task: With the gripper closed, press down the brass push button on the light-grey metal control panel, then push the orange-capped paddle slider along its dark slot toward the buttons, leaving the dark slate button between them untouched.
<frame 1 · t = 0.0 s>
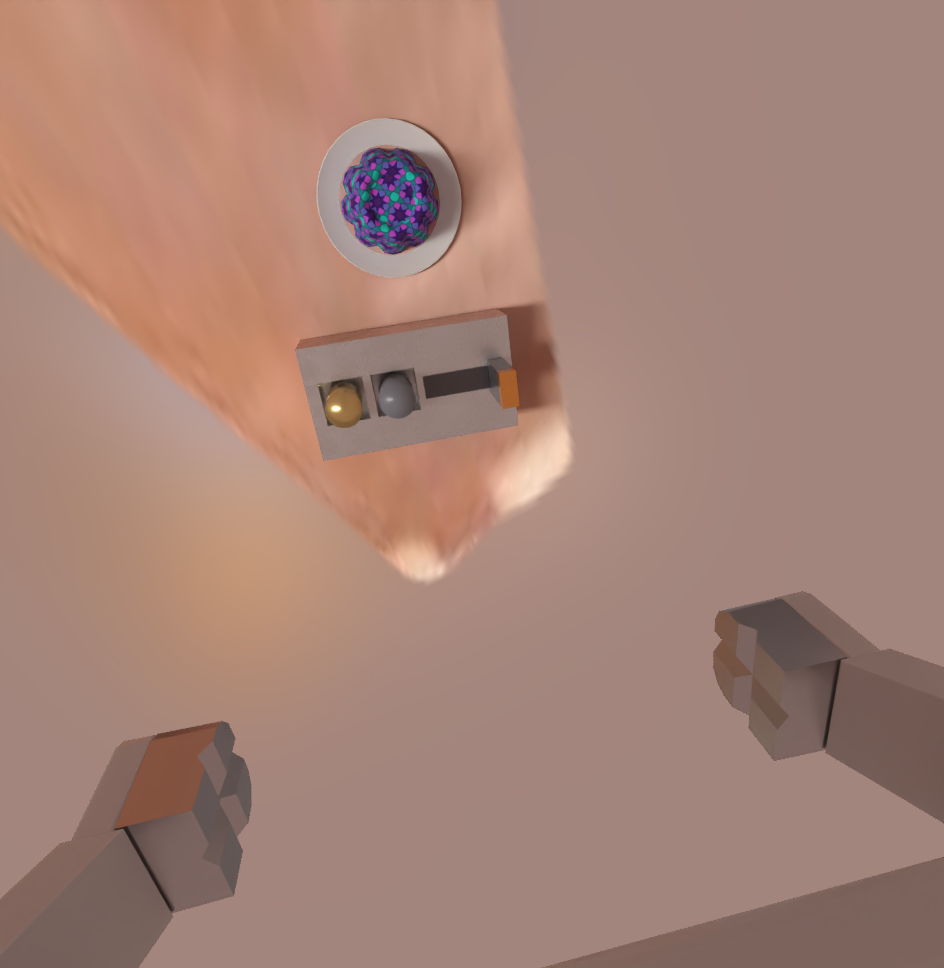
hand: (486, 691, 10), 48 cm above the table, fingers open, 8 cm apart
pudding: (390, 202, 50), on the table
slider: (502, 382, 50), point 7 cm above the table, slide at 0.0 cm
button slate: (396, 395, 51), point 6 cm above the table, slide at 0.0 cm
button brass: (344, 404, 50), point 6 cm above the table, slide at 0.0 cm
panel: (399, 379, 56), on the table
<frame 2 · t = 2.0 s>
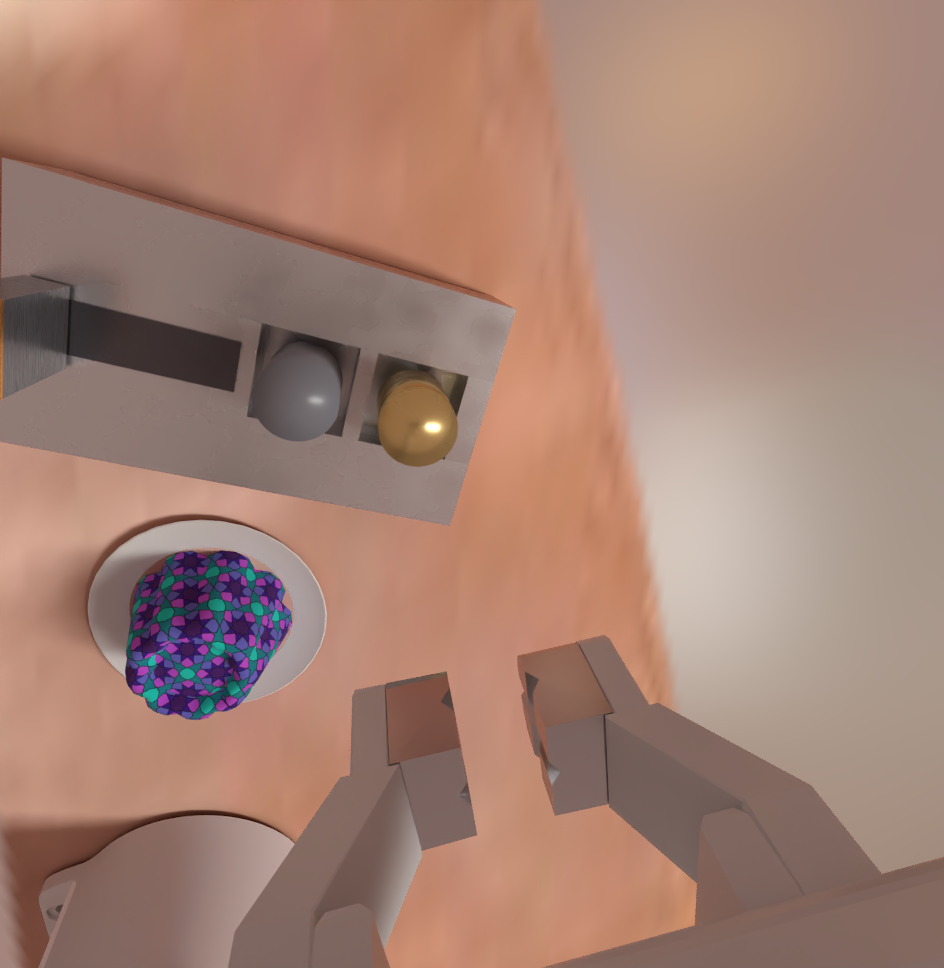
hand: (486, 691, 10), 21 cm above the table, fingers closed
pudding: (216, 609, 33), on the table
slider: (7, 334, 19), point 7 cm above the table, slide at 0.0 cm
button slate: (300, 389, 23), point 6 cm above the table, slide at 0.0 cm
button brass: (415, 416, 24), point 6 cm above the table, slide at 0.0 cm
panel: (301, 356, 28), on the table
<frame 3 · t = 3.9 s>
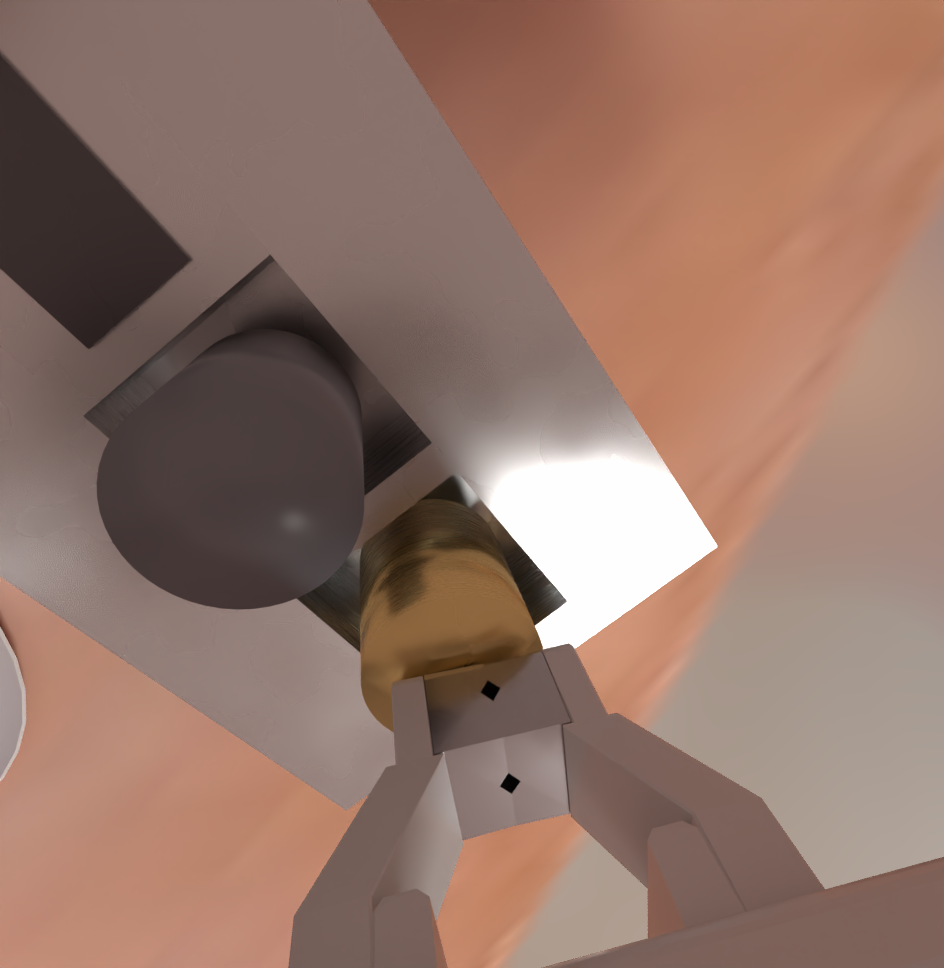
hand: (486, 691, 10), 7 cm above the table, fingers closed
button slate: (258, 453, 9), point 6 cm above the table, slide at 0.0 cm
button brass: (440, 610, 11), point 5 cm above the table, slide at 0.7 cm, touching gripper
panel: (278, 351, 13), on the table
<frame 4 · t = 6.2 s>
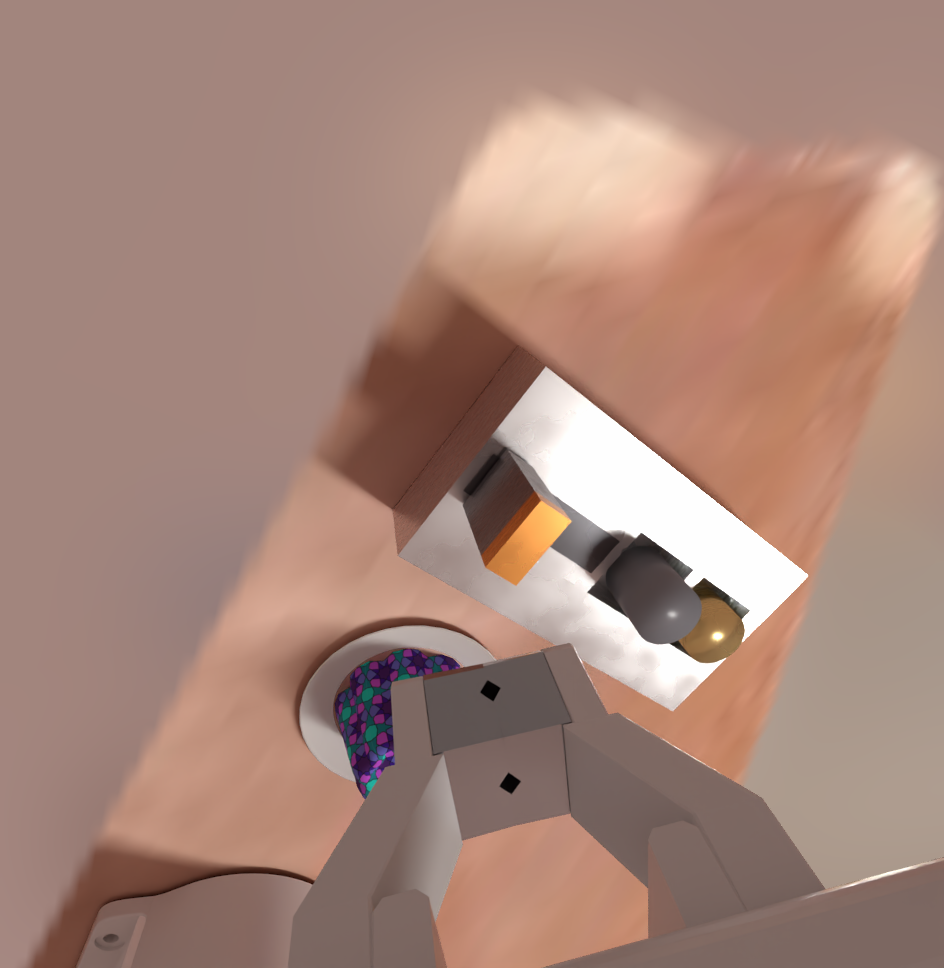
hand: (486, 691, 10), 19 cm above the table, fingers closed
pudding: (406, 699, 35), on the table
slider: (511, 512, 22), point 7 cm above the table, slide at 0.0 cm
button slate: (651, 593, 27), point 6 cm above the table, slide at 0.0 cm
button brass: (697, 616, 30), point 4 cm above the table, slide at 1.5 cm
panel: (599, 531, 32), on the table
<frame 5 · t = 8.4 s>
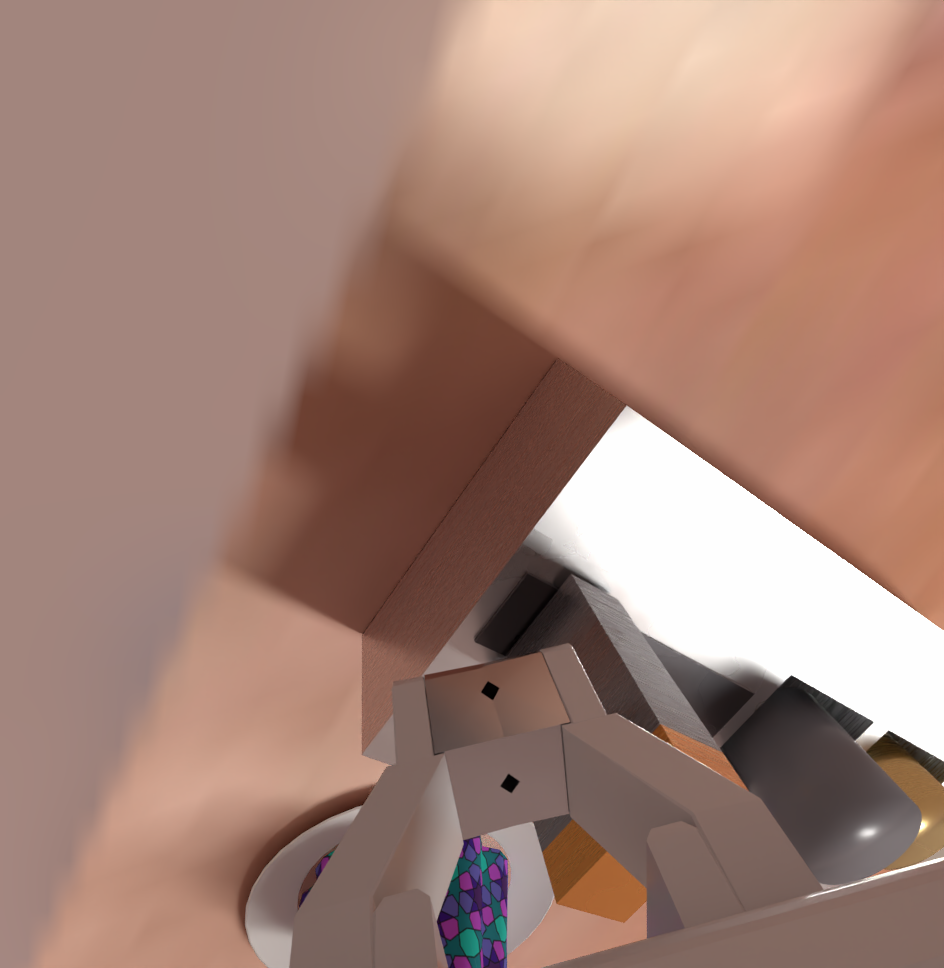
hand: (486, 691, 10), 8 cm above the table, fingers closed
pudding: (406, 880, 24), on the table
slider: (593, 722, 11), point 7 cm above the table, slide at 0.5 cm, touching gripper
button slate: (811, 779, 15), point 6 cm above the table, slide at 0.0 cm
button brass: (867, 781, 18), point 4 cm above the table, slide at 1.5 cm
panel: (692, 638, 20), on the table
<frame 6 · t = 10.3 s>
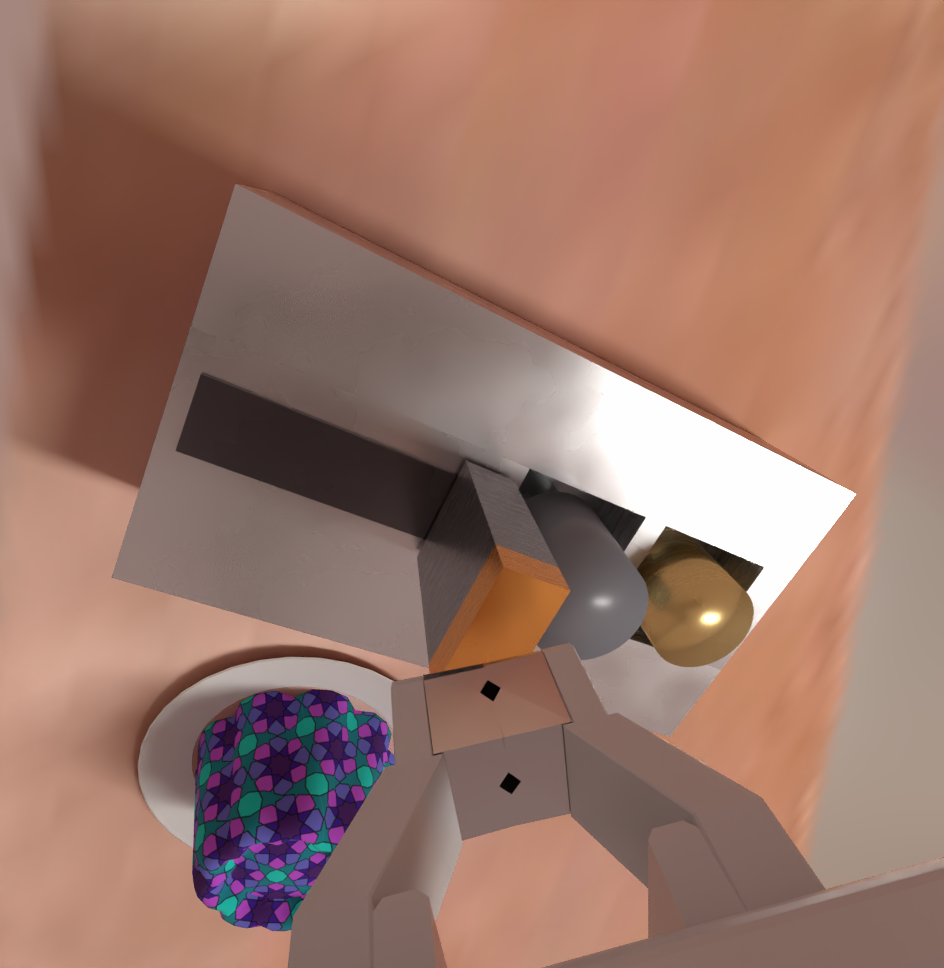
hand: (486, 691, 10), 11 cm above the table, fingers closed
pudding: (300, 754, 25), on the table
slider: (479, 570, 13), point 7 cm above the table, slide at 6.1 cm
button slate: (566, 570, 16), point 6 cm above the table, slide at 0.0 cm
button brass: (675, 590, 18), point 4 cm above the table, slide at 1.5 cm
panel: (509, 479, 20), on the table
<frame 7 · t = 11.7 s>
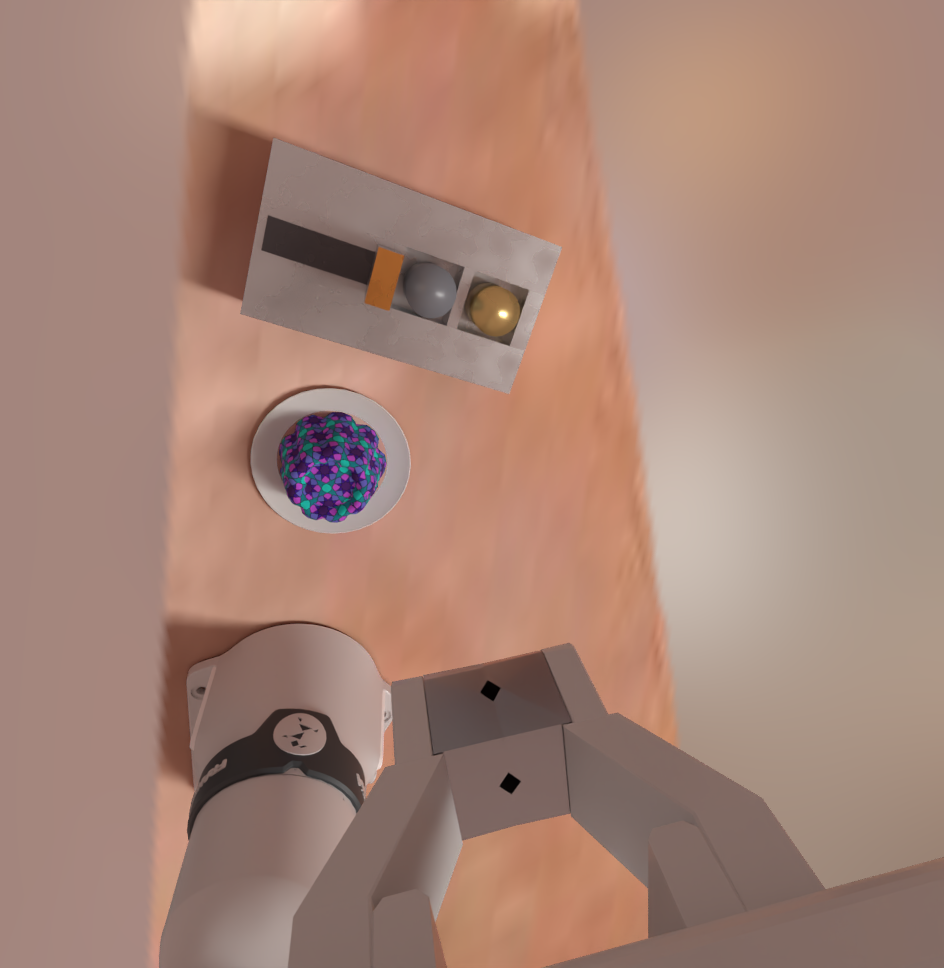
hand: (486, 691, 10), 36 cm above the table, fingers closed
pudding: (333, 460, 46), on the table
slider: (383, 275, 34), point 7 cm above the table, slide at 6.1 cm
button slate: (428, 289, 37), point 6 cm above the table, slide at 0.0 cm
button brass: (491, 308, 39), point 4 cm above the table, slide at 1.5 cm
panel: (414, 278, 41), on the table
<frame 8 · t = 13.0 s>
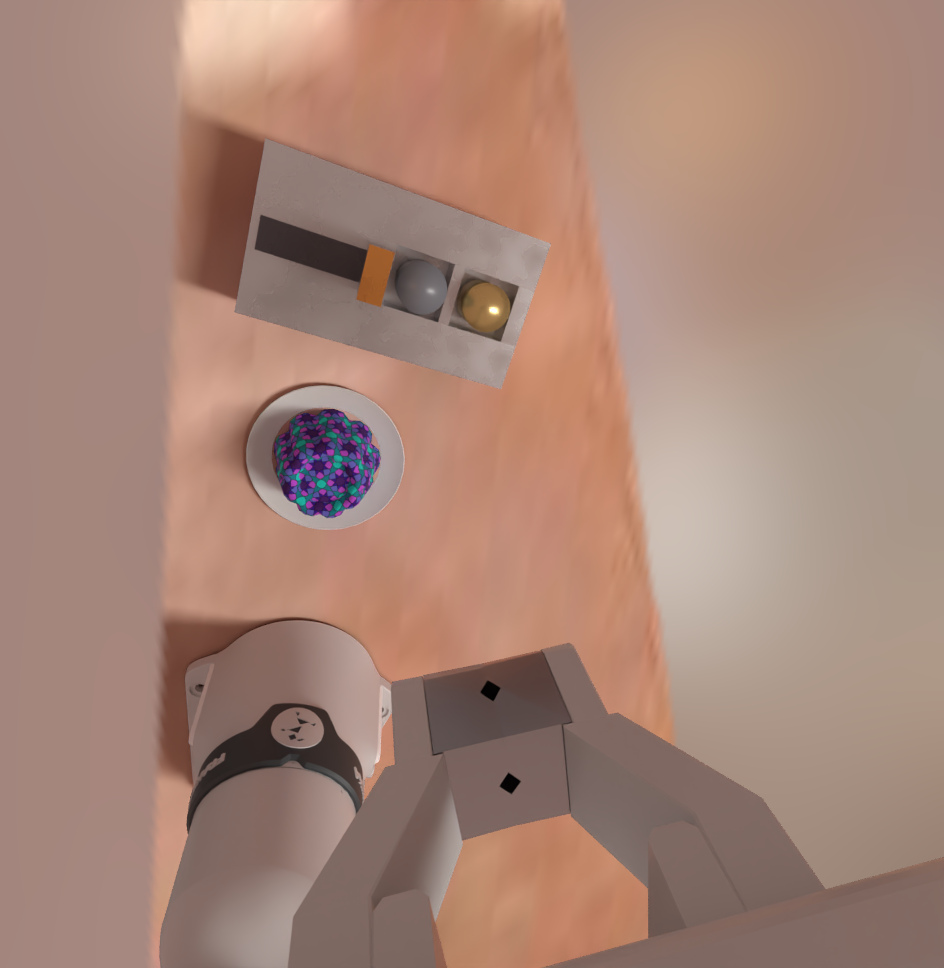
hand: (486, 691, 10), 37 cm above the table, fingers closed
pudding: (327, 456, 47), on the table
slider: (374, 273, 35), point 7 cm above the table, slide at 6.1 cm
button slate: (419, 286, 37), point 6 cm above the table, slide at 0.0 cm
button brass: (482, 305, 40), point 4 cm above the table, slide at 1.5 cm
panel: (406, 276, 42), on the table
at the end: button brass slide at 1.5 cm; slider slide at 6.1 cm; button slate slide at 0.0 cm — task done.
